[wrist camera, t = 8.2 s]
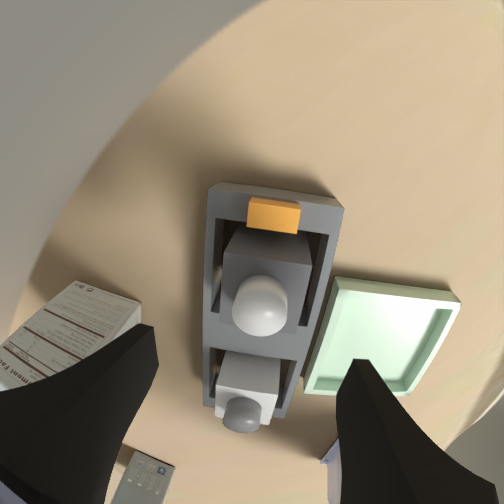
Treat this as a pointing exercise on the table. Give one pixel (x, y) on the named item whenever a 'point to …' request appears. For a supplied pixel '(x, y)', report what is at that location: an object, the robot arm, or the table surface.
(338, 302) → the tray
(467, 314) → the table surface
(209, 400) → the power strip
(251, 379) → the twin plug
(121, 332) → the supplement box
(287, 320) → the plug
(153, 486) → the hard drive box
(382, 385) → the robot arm
